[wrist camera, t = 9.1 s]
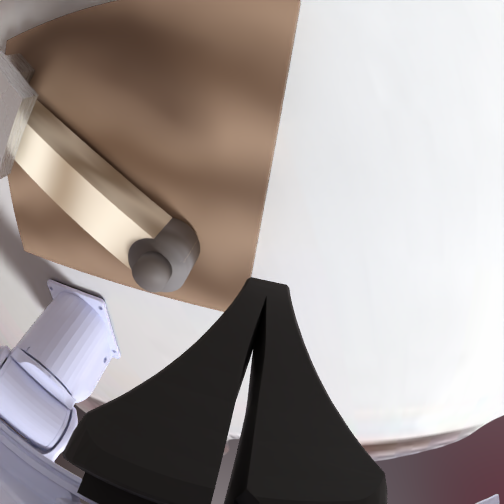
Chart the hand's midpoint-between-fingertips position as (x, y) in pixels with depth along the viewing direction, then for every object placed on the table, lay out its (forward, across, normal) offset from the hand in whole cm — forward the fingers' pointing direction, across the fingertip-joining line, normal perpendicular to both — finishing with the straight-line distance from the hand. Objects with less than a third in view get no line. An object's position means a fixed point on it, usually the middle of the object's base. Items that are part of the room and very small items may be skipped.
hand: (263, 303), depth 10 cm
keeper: (+7, +18, -7) cm, 21 cm away
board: (+8, +12, -2) cm, 15 cm away
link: (+7, +11, 0) cm, 13 cm away
